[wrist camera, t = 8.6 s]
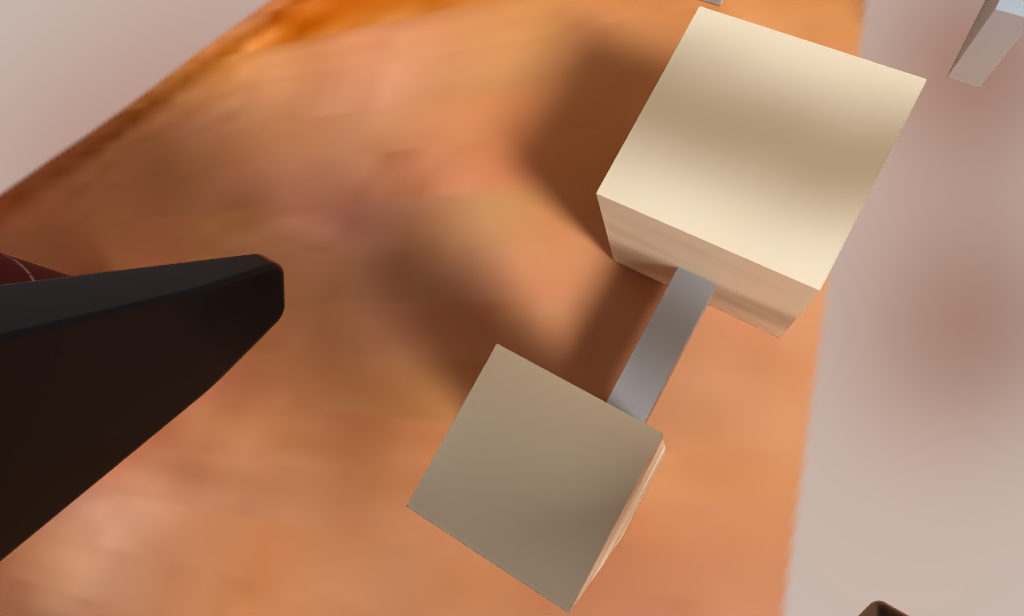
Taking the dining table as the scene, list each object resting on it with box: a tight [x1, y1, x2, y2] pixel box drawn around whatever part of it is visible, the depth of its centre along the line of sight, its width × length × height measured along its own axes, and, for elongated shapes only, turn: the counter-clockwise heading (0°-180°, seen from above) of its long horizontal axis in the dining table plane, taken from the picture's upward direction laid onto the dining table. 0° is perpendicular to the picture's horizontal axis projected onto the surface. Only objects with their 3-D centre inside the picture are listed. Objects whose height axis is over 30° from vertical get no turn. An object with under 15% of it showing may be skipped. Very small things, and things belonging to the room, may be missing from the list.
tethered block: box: [407, 6, 926, 613], centre depth 17 cm, size 14×6×12 cm, turn 150°
